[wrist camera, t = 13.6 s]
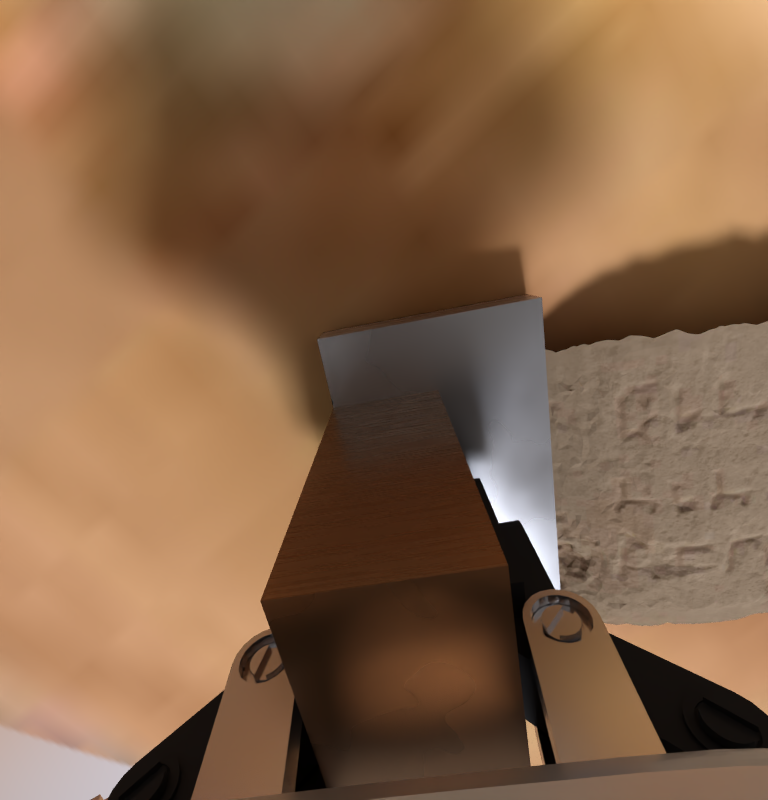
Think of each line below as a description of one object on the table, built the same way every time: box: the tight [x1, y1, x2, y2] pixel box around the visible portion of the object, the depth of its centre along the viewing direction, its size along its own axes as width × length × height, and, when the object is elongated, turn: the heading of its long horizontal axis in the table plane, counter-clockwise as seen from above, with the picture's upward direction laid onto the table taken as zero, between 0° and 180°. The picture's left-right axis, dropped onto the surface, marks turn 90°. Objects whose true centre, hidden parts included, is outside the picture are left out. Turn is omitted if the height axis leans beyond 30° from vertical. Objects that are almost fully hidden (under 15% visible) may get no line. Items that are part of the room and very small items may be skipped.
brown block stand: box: [261, 294, 560, 788], centre depth 10 cm, size 12×6×8 cm, turn 11°
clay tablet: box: [545, 321, 768, 626], centre depth 13 cm, size 14×10×3 cm
